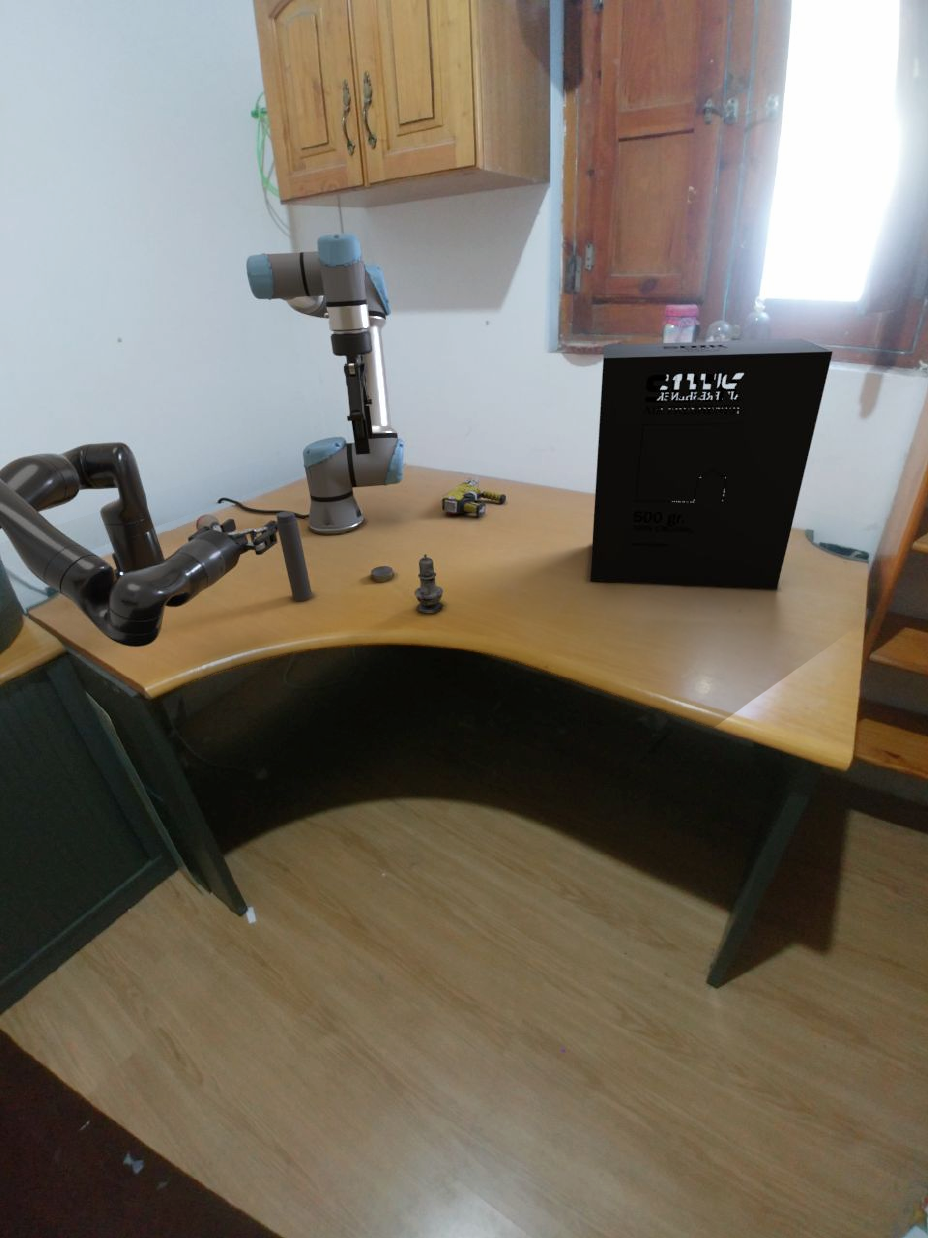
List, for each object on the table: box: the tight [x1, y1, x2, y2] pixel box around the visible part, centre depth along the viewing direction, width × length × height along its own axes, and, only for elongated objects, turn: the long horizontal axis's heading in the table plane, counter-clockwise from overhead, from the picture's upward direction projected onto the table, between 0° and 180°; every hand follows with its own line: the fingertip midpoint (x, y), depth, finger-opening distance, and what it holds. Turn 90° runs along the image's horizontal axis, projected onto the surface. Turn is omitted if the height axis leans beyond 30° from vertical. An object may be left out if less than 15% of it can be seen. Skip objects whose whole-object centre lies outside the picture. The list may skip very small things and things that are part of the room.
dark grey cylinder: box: [275, 510, 313, 603], centre depth 127 cm, size 4×4×19 cm
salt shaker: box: [413, 553, 444, 614], centre depth 122 cm, size 6×6×12 cm
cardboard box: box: [589, 338, 834, 590], centre depth 125 cm, size 38×20×45 cm, turn 78°
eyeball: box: [196, 514, 221, 531], centre depth 165 cm, size 6×6×6 cm
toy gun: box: [441, 477, 507, 518], centre depth 177 cm, size 5×24×15 cm
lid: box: [370, 565, 395, 583], centre depth 138 cm, size 5×5×2 cm
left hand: (253, 524), depth 112 cm, fingers open, 8 cm apart
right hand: (365, 445), depth 124 cm, fingers open, 13 cm apart
